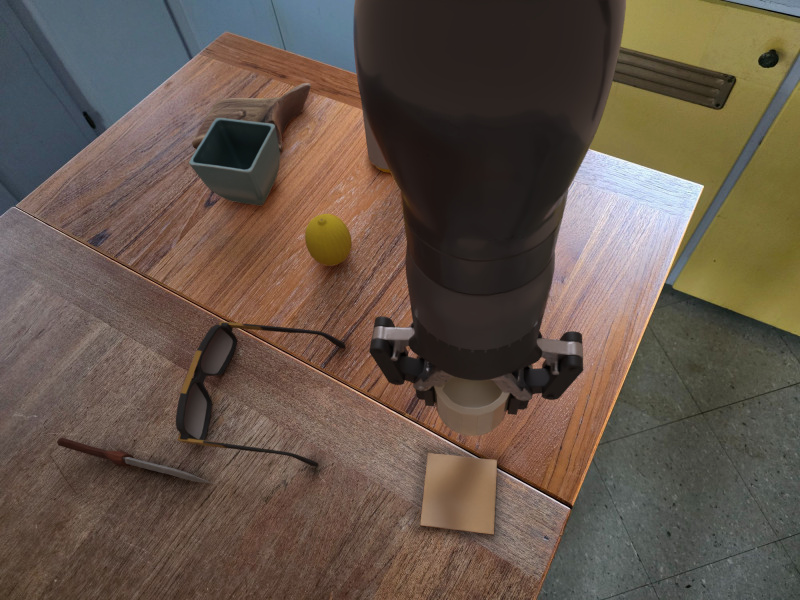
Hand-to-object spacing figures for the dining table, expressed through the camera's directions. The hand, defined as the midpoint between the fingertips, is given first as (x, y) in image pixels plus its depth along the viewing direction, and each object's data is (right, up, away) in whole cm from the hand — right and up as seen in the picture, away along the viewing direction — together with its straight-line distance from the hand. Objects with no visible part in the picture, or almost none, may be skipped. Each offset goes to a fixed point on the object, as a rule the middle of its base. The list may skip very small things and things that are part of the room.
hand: (471, 398), depth 44 cm
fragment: (-28, +35, +41) cm, 61 cm away
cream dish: (0, 0, +1) cm, 1 cm away
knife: (-33, -10, +15) cm, 38 cm away
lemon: (-14, +13, +27) cm, 33 cm away
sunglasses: (-21, -3, +18) cm, 27 cm away
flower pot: (-26, +23, +34) cm, 49 cm away
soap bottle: (-7, +28, +35) cm, 45 cm away
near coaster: (0, -11, +10) cm, 15 cm away
